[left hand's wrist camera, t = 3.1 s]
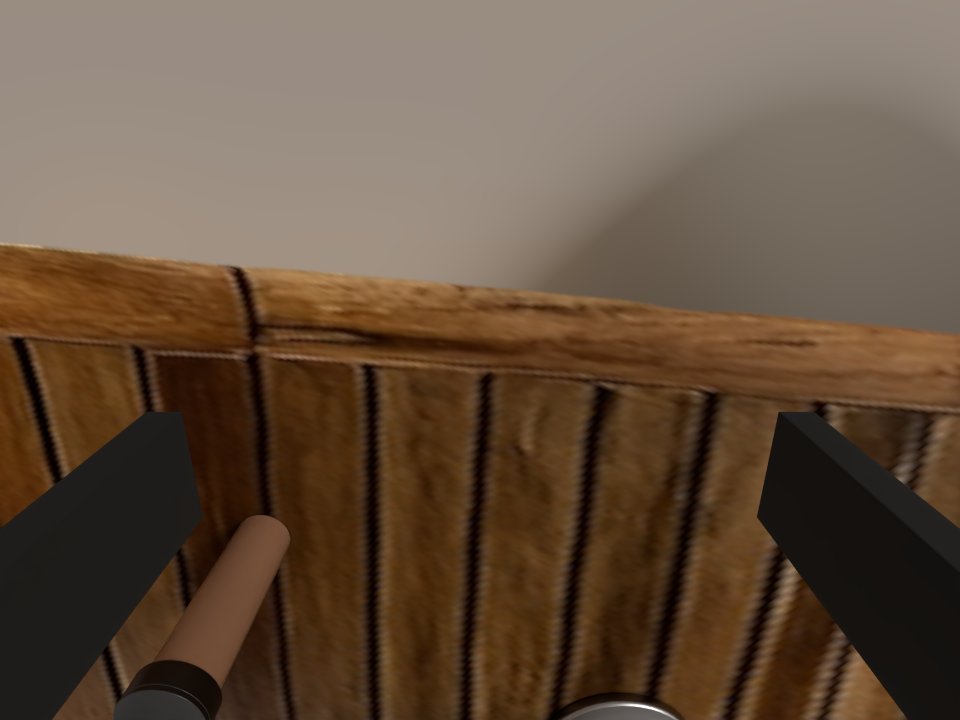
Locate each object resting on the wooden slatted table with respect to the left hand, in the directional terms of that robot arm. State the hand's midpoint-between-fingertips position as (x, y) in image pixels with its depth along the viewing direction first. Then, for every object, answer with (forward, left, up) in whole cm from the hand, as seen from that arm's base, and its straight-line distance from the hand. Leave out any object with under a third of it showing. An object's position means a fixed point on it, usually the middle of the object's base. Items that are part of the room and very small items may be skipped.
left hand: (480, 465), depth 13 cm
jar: (-24, +18, -28) cm, 41 cm away
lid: (-24, +18, -12) cm, 32 cm away
